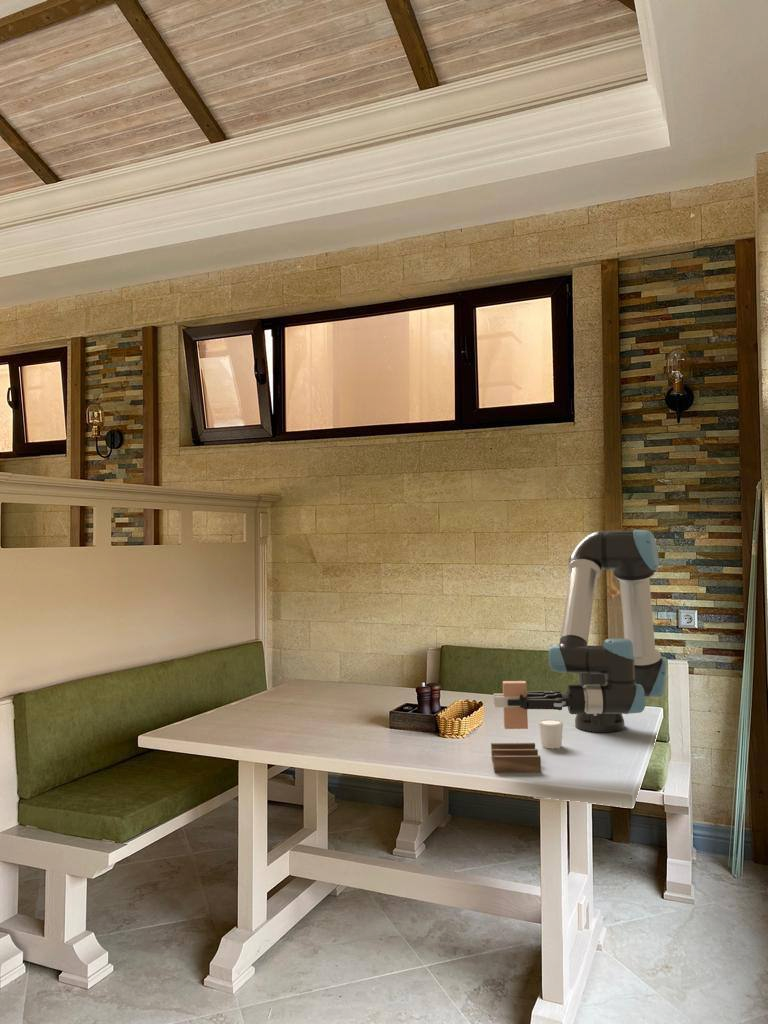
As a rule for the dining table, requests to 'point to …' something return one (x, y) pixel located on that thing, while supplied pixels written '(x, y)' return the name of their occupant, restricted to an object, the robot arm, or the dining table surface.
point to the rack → (515, 757)
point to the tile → (515, 715)
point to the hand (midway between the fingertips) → (494, 700)
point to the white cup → (551, 733)
